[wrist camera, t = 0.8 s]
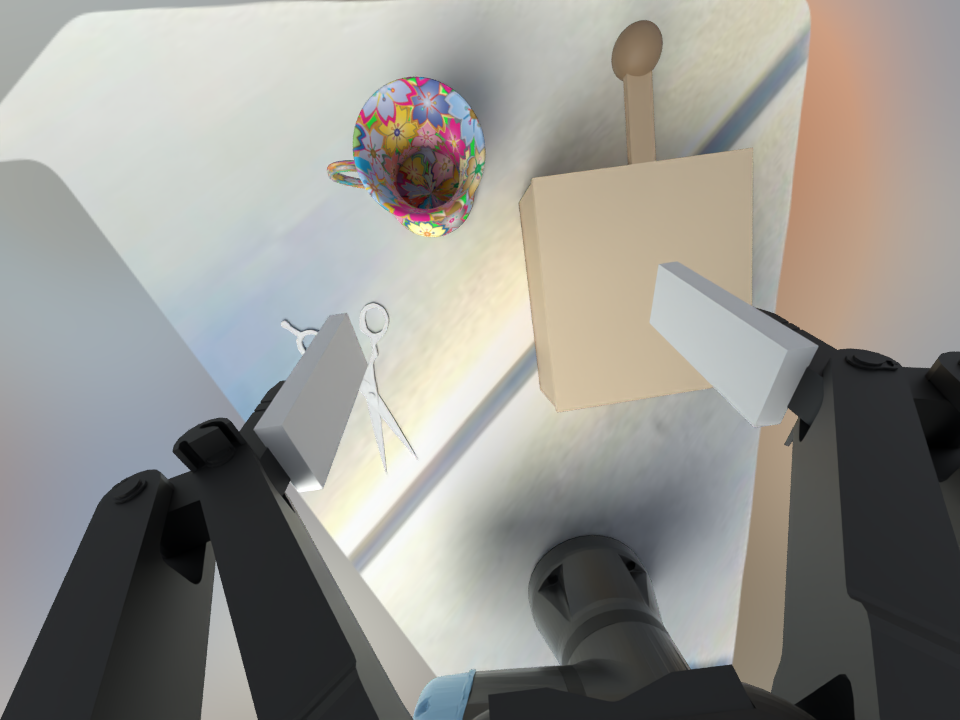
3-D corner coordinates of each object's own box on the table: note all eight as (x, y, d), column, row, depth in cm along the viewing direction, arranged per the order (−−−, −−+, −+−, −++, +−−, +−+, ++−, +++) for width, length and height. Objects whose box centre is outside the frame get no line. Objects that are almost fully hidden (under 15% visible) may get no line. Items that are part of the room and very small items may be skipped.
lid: (733, 376, 34) (765, 385, 30) (551, 405, 33) (562, 418, 30) (732, 29, 28) (771, -9, 25) (513, 56, 28) (520, 22, 24)
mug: (472, 139, 34) (478, 69, 23) (482, 238, 36) (491, 214, 25) (349, 150, 33) (299, 84, 23) (365, 249, 35) (326, 230, 25)
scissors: (374, 285, 36) (446, 453, 39) (376, 286, 36) (446, 450, 40) (279, 322, 36) (359, 486, 39) (283, 321, 36) (361, 482, 40)
